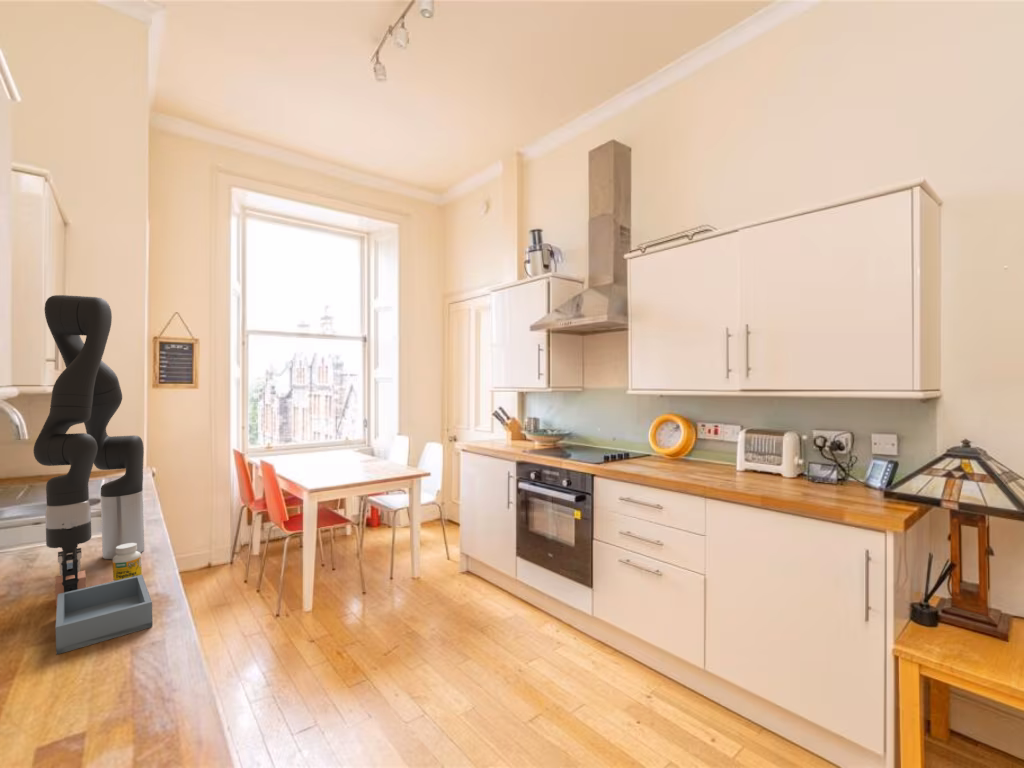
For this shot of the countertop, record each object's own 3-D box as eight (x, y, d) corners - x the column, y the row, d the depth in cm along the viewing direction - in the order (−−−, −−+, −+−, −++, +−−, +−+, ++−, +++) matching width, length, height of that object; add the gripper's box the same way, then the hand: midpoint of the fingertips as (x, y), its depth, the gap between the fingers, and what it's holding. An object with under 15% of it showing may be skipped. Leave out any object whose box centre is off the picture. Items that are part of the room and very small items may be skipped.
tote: (58, 617, 100) (57, 594, 100) (142, 596, 110) (142, 574, 110) (56, 654, 87) (55, 627, 87) (152, 626, 97) (151, 602, 96)
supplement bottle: (142, 578, 120) (141, 540, 119) (141, 586, 115) (139, 546, 115) (114, 583, 117) (113, 544, 116) (111, 592, 112) (110, 551, 112)
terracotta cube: (56, 598, 109) (55, 576, 109) (85, 591, 113) (85, 570, 113) (55, 606, 106) (55, 583, 106) (86, 598, 109) (85, 576, 109)
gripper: (46, 518, 111) (49, 591, 112) (44, 533, 101) (46, 614, 101) (90, 512, 117) (92, 581, 117) (91, 525, 106) (94, 602, 106)
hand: (71, 596), depth 109 cm, fingers closed on terracotta cube, 5 cm apart
